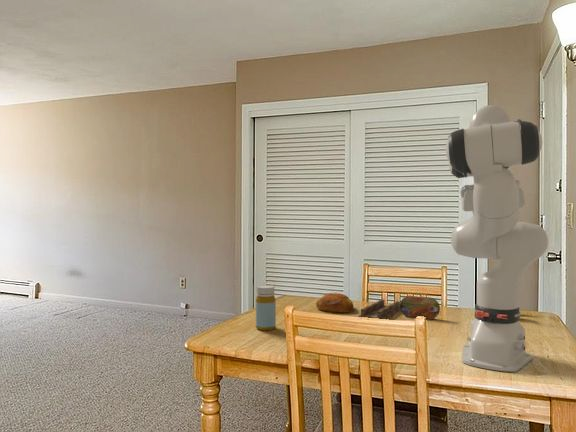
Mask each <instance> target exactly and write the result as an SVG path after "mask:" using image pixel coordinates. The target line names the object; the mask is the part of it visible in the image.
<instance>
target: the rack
mask: <svg viewBox="0 0 576 432" xmlns="http://www.w3.org/2000/svg"><path fill="white" fill-rule="evenodd" d="M400 302H401V300H400V301H398V300H397V301H394V302H392V303H391V304H389V305H385V299H379V300H377V301H375V302H373V303H371V304H369V305H368V306H365V307H363V308H361V309H360V314H358V316H357V317H368V318H379V319H386V320H388V319H390V318H391V317H393V316H395V315H397V314H398V313H400V312H401V310H400Z"/></svg>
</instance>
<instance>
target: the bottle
mask: <svg viewBox="0 0 576 432" xmlns="http://www.w3.org/2000/svg"><path fill="white" fill-rule="evenodd" d="M276 307H277V306H276V298H275V286H274V285H271V284H263V285H262V284H261V285H257V286H256V298H255V328H256V329H257V330H259V331H265V332H266V331H273V330H274V329H275V328H276V324H277V323H276V321H277V319H276V315H277V314H276V311H277V310H276Z"/></svg>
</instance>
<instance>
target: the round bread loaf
mask: <svg viewBox="0 0 576 432" xmlns="http://www.w3.org/2000/svg"><path fill="white" fill-rule="evenodd" d="M315 304H316V308H317V309H318V310H319V311H323V312H331V313H350V312H352V311H353V310H354V309H353V308H354V303H353V301H352V300H351V299H350V298H349V297H348V296H347V295H346V294H343V293H337V292H334V293H333V292H329V293H326V294H324V295H323V296H322V297H320V298H318V300H317V301H316V302H315Z"/></svg>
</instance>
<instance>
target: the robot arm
mask: <svg viewBox="0 0 576 432" xmlns="http://www.w3.org/2000/svg"><path fill="white" fill-rule="evenodd" d="M542 146H543V137H542V134H541V131H540V130H539V128H538V126H537V125H536V124H534V123H533V122H531V121H527V120H526V121H524V120H522V119H520V118H518V119H517V120H515V121H511V118H510V116H509V114H508V112H507V111H506V110H505V109H504V108H503V107H500V106H498V105H493V104H491V105H485V106H483V107H480V108H479V109H478V110H476V111H475V113H473V116H472V117H471V120H470V123H469V127H468V128H465V129H464V128H461V129H457V130H454V131H452V132H451V133H450V134H449V136H448V138H447V141H446V144H445V155H446V158H447V160H448V168H449V170H450V174H452V175H453V176H454V177H456V178H457V179H463V178H469V177H470V178H471V177H473V184H466V185H464V186H463V187H461V188H460V196H461V209H462V210H463V211H464V212H472V214H473V216H471V217H470V218H469V219H466V220H465V221H462V222H461V223H458V224H457V225H455V227H453V230H452V233H451V235H450V243H451V247H452V249H453V250H454V251H455V253H456V254H458V255H459V256H463V257H467V258H472V259H490V260H491V259H493V260H500V264H499V265H498V266H497V267H495V268H492V269H490V270H488V271H486V272H484V273H482V274H481V275H479V277H478V278H477V281H476V304H475V306H474V319H472V320H471V321H470V336H468V337H467V341H468V342H470V343H465V344H463V345H462V354H461V355H462V356H461V357H462V358H461V359H462V363H463V364H465V365H469V366H472V367H476V368H481V369H487V370H492V371H497V372H498V371H500V372H510V373H511V372H514V373H515V372H518V371H519V370H521V369H522V368H523V367H524V366H525V365H527V364H528V363H529V362H530V361H532V360H533V359H534V357H533V354H531V353H529V352H527V351H526V349H527V348H526V329H525V327H524V326H523V325H522V324H521V322H520V318H521V317H520V316H521V315H520V314H521V312H520V307H519V290H520V282H521V279H522V277H523V275H524V273H525V271H526V270H527V268H529V266H530V265H531V264H532V263H534V262H535V261H537V260H538V259H540V258H542V256H543V255H544V254H545V253H546V251H547V249H548V247H549V238H548V235H547V233H546V231H545V229H544V228H543V227H542V226H541V225H540V224H535V223H531V222H525V221H519V219H520V208H523V207H524V205H525V195H524V190H523V188H522V187H521V180H518V179H516V177H515V175H514V174H513V172H512V171H511V170H509V169H508V168H510V167H511V166H516V165H517V166H518V165H523V166H524V165H527V164H530V163H534V162H535V161H536V160H537V159H538V158H539V156H540V153H541V150H542Z"/></svg>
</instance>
